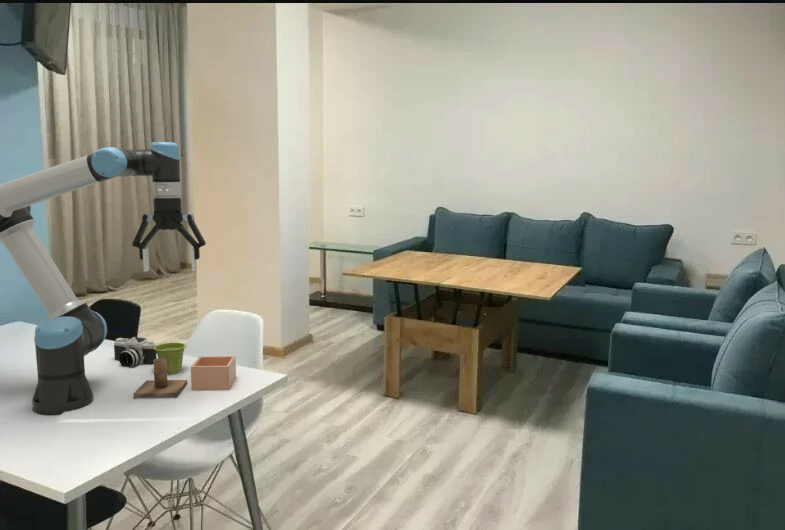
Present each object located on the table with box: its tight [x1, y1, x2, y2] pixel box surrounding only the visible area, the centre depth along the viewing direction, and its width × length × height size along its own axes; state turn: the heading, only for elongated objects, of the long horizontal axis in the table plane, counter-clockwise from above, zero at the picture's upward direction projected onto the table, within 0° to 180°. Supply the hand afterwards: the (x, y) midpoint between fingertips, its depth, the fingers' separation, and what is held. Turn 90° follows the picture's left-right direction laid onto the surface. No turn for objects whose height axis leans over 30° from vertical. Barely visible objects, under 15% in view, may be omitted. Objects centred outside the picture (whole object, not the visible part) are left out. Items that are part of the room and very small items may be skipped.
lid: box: [133, 357, 188, 398], centre depth 196 cm, size 12×12×9 cm
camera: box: [113, 336, 158, 368], centre depth 221 cm, size 16×9×10 cm, turn 72°
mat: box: [133, 383, 188, 399], centre depth 196 cm, size 12×12×1 cm
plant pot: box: [154, 342, 186, 375], centre depth 213 cm, size 9×9×9 cm
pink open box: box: [190, 355, 237, 391], centre depth 202 cm, size 11×11×7 cm
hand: (170, 270), depth 196 cm, fingers open, 13 cm apart
